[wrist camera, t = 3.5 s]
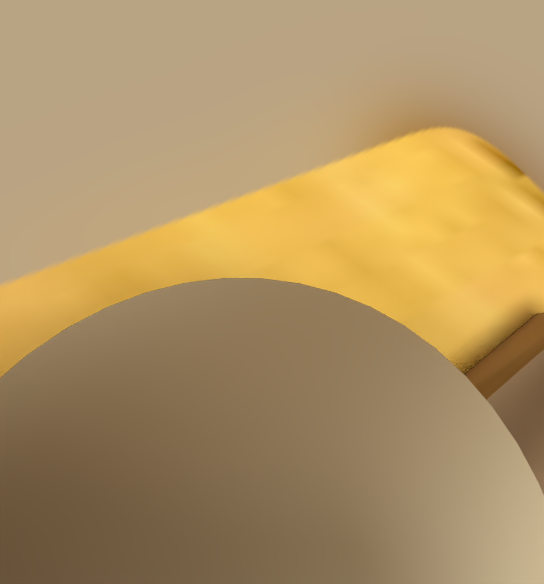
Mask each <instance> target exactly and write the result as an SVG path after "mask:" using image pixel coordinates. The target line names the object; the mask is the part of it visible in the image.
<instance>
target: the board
mask: <svg viewBox="0 0 544 584" xmlns="http://www.w3.org/2000/svg"><path fill="white" fill-rule="evenodd" d="M464 375H465V376H466V377H467V378H468V379H469V380H470V382H471V383H472V384H473V385H474V386H475V387H476V389H477V390H478V391H479V392H480V393H481V394H482V396H483V397H484V398H485V399H486V400H487V401H488V403H489V404H490V405H491V406H492V407H493V409H494V410H495V411H496V413H497V414H498V416H499V417H500V419H501V420H502V422H503V423H504V425H505V426H506V428H507V429H508V430H509V432H510V433H511V435H512V436H513V438H514V439H515V441H516V442H517V444H518V446H519V447H520V449H521V451H522V453H523V455H524V457H525V459H526V460H527V462H528V464H529V466H530V468H531V470H532V472H533V473H534V475H535V477H536V479H537V481H538V483H539V485H540V488H541V490H542V492H543V495H544V313H539V314H536V315H535V316H534V317H532V318H531V319H530V320H529V321H528V322H526V323H525V324H524V325H523V326H522V327H520V328H519V329H518V330H517V331H516V332H514V333H513V334H512V335H511V336H510V337H508V338H507V339H506V340H505V341H504V342H503V343H501V344H500V345H499V346H498V347H497V348H495V349H494V350H493V351H492V352H491V353H489V354H488V355H487V356H486V357H485V358H483V359H482V360H481V361H480V362H479V363H478V364H476V365H475V366H474V367H473V368H472V369H470V370H469V371H468V372H467V373H466V374H464Z"/></svg>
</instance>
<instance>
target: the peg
mask: <svg viewBox="0 0 544 584" xmlns="http://www.w3.org/2000/svg"><path fill="white" fill-rule="evenodd" d="M0 584H544V495H543V492H542V490H541V488H540V485H539V483H538V481H537V479H536V477H535V475H534V473H533V472H532V470H531V468H530V466H529V464H528V462H527V460H526V459H525V457H524V455H523V453H522V451H521V449H520V447H519V446H518V444H517V442H516V441H515V439H514V438H513V436H512V435H511V433H510V432H509V430H508V429H507V428H506V426H505V425H504V423H503V422H502V420H501V419H500V417H499V416H498V414H497V413H496V411H495V410H494V409H493V407H492V406H491V405H490V404H489V403H488V401H487V400H486V399H485V398H484V397H483V396H482V394H481V393H480V392H479V391H478V390H477V389H476V387H475V386H474V385H473V384H472V383H471V382H470V380H469V379H468V378H467V377H466V376H465V375H464V374H463V373H462V372H461V371H460V370H459V369H458V368H456V367H455V366H454V365H453V364H452V363H451V362H450V361H449V360H448V359H447V358H446V357H445V356H443V355H442V354H441V353H440V352H439V351H438V350H437V349H436V348H435V347H433V346H432V345H430V344H429V343H428V342H426V341H425V340H423V339H422V338H421V337H419V336H418V335H417V334H415V333H414V332H412V331H411V330H410V329H408V328H407V327H406V326H404V325H402V324H401V323H399V322H397V321H395V320H393V319H392V318H390V317H388V316H386V315H384V314H383V313H381V312H379V311H377V310H375V309H374V308H372V307H370V306H367V305H365V304H362V303H360V302H357V301H355V300H352V299H350V298H347V297H345V296H342V295H340V294H337V293H334V292H330V291H327V290H323V289H319V288H315V287H311V286H308V285H304V284H300V283H293V282H285V281H278V280H270V279H262V278H222V279H213V280H205V281H197V282H189V283H183V284H179V285H175V286H170V287H166V288H162V289H158V290H154V291H150V292H146V293H143V294H141V295H138V296H135V297H133V298H130V299H128V300H125V301H122V302H120V303H117V304H114V305H112V306H109V307H107V308H104V309H102V310H101V311H99V312H97V313H95V314H93V315H91V316H89V317H87V318H85V319H83V320H81V321H80V322H78V323H76V324H74V325H72V326H70V327H68V328H66V329H65V330H63V331H62V332H60V333H59V334H57V335H56V336H54V337H53V338H51V339H50V340H49V341H47V342H46V343H44V344H43V345H41V346H40V347H38V348H37V349H35V350H34V351H32V352H31V353H29V354H28V355H27V356H26V357H24V358H23V359H22V360H21V361H20V362H18V363H17V364H16V365H15V366H14V367H13V368H11V369H10V370H9V371H8V372H7V373H6V374H4V375H3V376H2V377H1V378H0Z"/></svg>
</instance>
